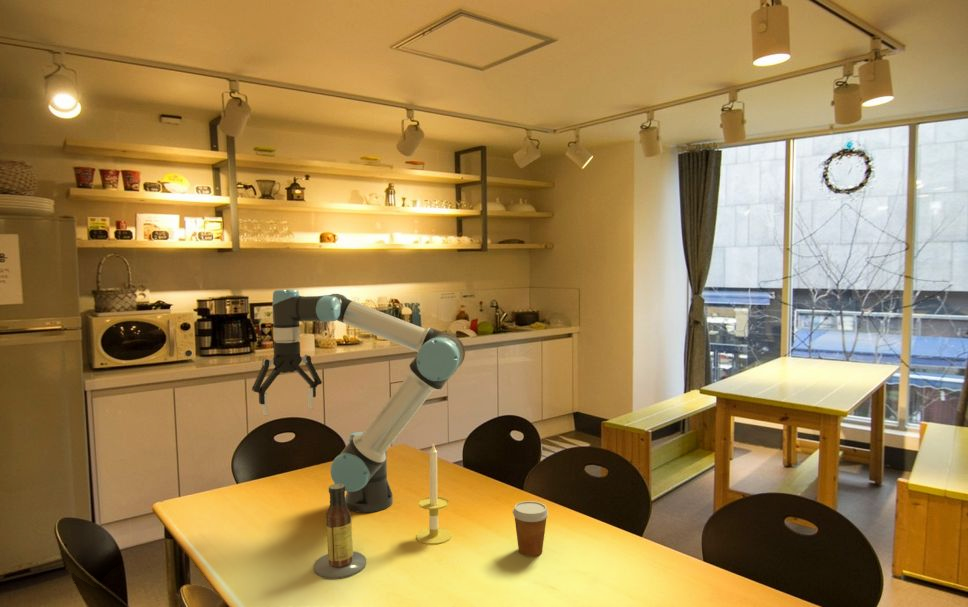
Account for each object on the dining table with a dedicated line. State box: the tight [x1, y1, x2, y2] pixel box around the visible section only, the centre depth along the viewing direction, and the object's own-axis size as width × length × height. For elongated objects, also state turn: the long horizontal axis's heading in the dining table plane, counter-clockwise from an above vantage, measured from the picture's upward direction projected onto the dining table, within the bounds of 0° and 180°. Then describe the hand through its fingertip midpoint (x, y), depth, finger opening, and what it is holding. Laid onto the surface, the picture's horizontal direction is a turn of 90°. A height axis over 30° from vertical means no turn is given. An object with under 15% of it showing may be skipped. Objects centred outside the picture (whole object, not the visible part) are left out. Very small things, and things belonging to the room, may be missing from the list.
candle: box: [416, 442, 452, 546], centre depth 170 cm, size 10×10×27 cm
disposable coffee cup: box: [512, 500, 549, 557], centre depth 161 cm, size 10×10×12 cm
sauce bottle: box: [325, 483, 354, 567], centre depth 153 cm, size 7×6×20 cm
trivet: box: [313, 550, 367, 580], centre depth 154 cm, size 13×13×1 cm
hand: (288, 411), depth 181 cm, fingers open, 13 cm apart
